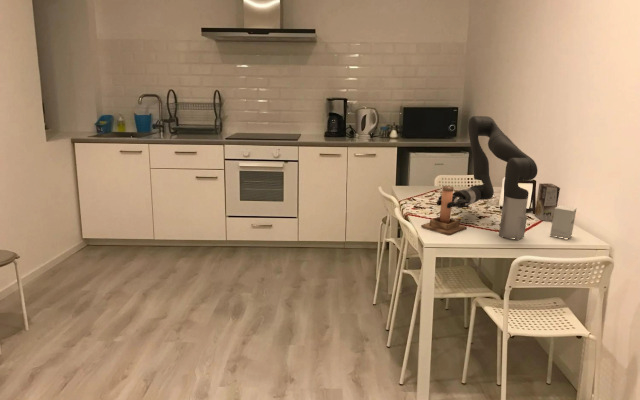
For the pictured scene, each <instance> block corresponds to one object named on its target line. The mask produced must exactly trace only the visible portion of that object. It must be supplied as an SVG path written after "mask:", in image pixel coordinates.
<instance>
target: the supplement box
mask: <svg viewBox="0 0 640 400" xmlns="http://www.w3.org/2000/svg"><path fill="white" fill-rule="evenodd" d="M576 213H577V207H574V206H568V205H562V204H561V205H560V204H559V205H558V204H557V207H556V208H555V210H554V216H553V221H551V228H550V235H551V236H550V237H552V236H557V237H563V238H569V237H570V236H571V235H572V236H573V232H574V231H573V230H574V224H575V219H576ZM572 236H571V237H572ZM571 237H570V238H571ZM570 238H569V239H570Z"/></svg>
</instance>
